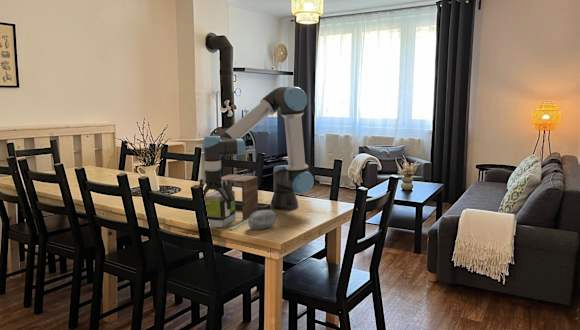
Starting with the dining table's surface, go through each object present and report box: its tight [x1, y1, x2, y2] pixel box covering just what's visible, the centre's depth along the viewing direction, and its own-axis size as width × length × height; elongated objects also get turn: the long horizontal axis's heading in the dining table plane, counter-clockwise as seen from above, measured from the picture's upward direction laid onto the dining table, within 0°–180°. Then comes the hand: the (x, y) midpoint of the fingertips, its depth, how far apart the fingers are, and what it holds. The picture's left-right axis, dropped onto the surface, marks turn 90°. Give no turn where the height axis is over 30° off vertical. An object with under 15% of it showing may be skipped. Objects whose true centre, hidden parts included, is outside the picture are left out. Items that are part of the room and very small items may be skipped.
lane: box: [190, 219, 249, 230], centre depth 215 cm, size 23×16×1 cm
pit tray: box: [235, 199, 272, 211], centre depth 241 cm, size 22×7×3 cm, turn 66°
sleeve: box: [221, 174, 259, 221], centre depth 228 cm, size 16×14×19 cm
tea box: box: [204, 190, 237, 228], centre depth 214 cm, size 15×10×15 cm
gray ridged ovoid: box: [247, 209, 277, 231], centre depth 207 cm, size 14×10×10 cm
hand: (214, 214), depth 210 cm, fingers open, 13 cm apart
